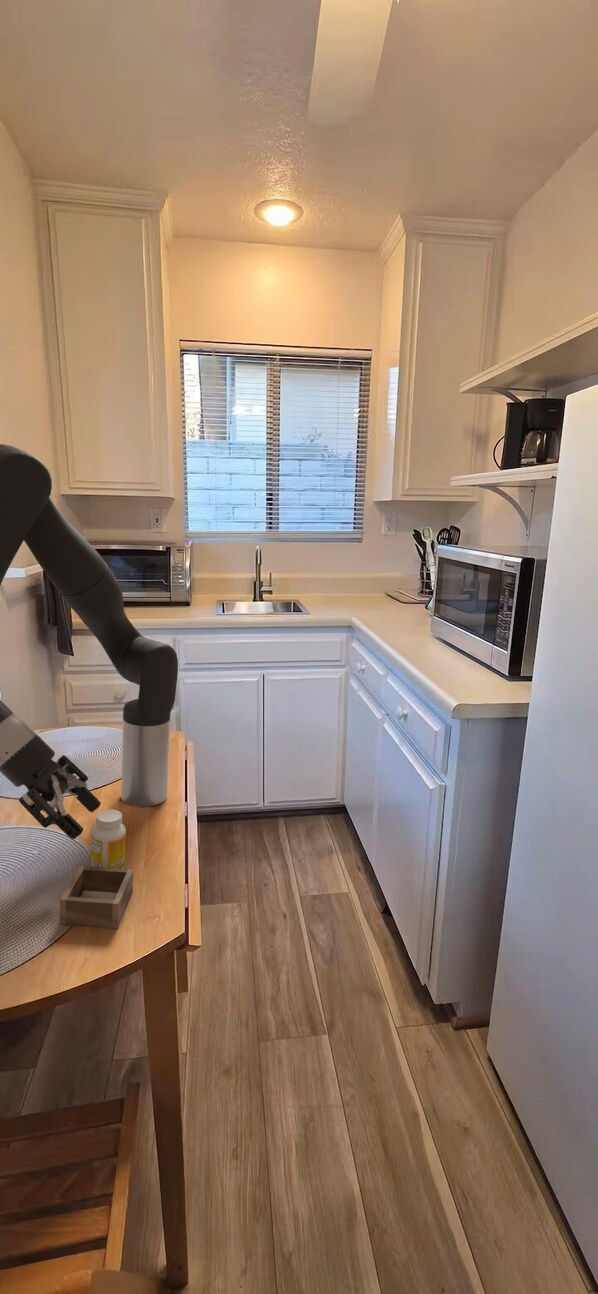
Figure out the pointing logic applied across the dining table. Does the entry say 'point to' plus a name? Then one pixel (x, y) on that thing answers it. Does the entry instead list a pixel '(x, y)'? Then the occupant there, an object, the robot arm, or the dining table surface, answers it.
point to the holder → (96, 897)
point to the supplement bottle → (108, 840)
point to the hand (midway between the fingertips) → (88, 821)
